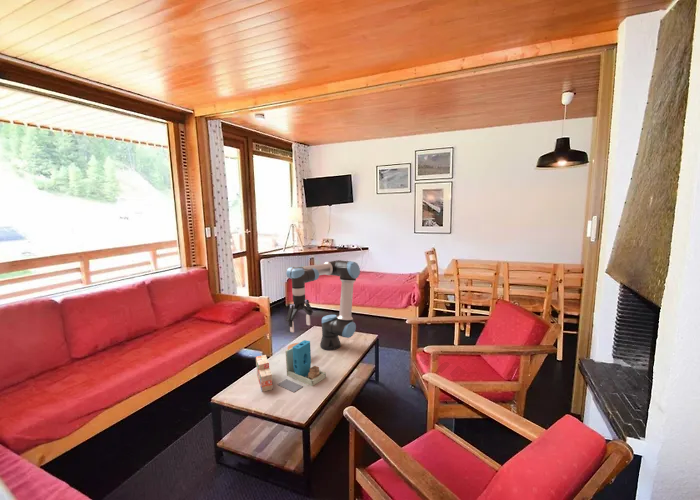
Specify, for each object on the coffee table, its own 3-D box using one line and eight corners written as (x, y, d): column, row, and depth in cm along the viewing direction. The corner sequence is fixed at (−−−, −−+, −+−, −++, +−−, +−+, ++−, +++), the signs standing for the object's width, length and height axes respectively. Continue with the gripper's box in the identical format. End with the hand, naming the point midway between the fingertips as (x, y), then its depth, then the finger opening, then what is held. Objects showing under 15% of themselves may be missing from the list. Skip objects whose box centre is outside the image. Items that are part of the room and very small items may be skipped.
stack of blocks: (273, 389, 184) (271, 369, 183) (261, 392, 182) (260, 371, 180) (267, 372, 204) (265, 354, 202) (256, 374, 201) (255, 356, 200)
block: (300, 380, 193) (298, 349, 190) (293, 378, 195) (291, 347, 193) (312, 371, 203) (310, 341, 200) (305, 369, 205) (304, 340, 203)
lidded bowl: (284, 359, 221) (283, 343, 220) (300, 353, 229) (299, 338, 228) (294, 365, 212) (293, 349, 210) (310, 359, 220) (309, 343, 218)
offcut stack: (315, 376, 197) (314, 364, 196) (320, 378, 194) (320, 366, 193) (308, 380, 192) (307, 369, 191) (313, 383, 189) (313, 371, 188)
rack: (300, 367, 209) (299, 344, 207) (325, 377, 196) (324, 352, 194) (286, 375, 199) (285, 350, 197) (312, 386, 186) (310, 360, 184)
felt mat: (286, 379, 194) (286, 379, 194) (302, 386, 186) (302, 386, 186) (277, 384, 189) (277, 384, 189) (294, 392, 180) (293, 391, 180)
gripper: (308, 289, 205) (310, 321, 207) (278, 298, 185) (280, 333, 188) (317, 290, 200) (318, 323, 203) (287, 300, 180) (289, 336, 183)
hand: (300, 328), depth 195 cm, fingers open, 13 cm apart
